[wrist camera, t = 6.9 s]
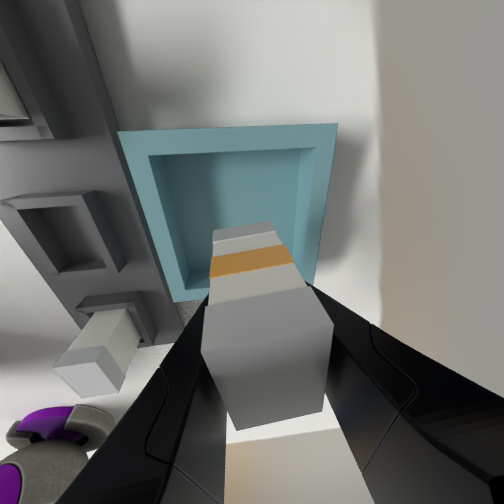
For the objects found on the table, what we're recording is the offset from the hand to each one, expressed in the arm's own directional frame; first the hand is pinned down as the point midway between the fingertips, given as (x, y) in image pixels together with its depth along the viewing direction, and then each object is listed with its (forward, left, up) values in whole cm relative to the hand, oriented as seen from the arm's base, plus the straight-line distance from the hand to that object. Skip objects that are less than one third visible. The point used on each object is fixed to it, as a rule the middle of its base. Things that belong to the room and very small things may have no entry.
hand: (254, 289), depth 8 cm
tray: (0, 0, -10) cm, 10 cm away
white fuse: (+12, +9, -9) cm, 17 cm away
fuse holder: (+12, 0, -10) cm, 16 cm away
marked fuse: (0, 0, -2) cm, 2 cm away
